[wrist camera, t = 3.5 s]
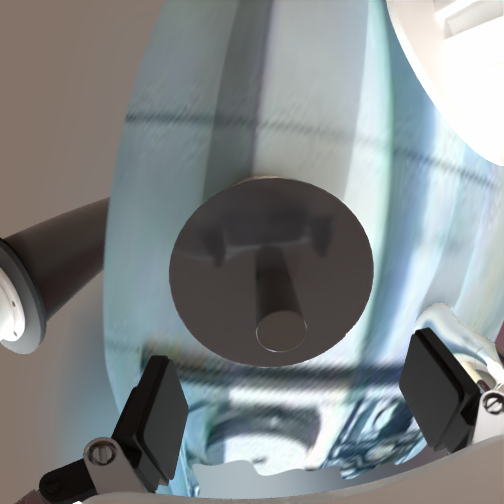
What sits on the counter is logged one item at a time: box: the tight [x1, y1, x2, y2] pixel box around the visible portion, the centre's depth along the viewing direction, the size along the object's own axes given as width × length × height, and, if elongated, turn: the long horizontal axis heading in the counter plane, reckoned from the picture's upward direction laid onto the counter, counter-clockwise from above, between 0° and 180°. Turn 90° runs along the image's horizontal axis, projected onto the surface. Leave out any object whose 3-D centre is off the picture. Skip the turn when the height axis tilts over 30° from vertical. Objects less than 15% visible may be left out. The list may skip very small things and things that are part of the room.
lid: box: [169, 177, 374, 367], centre depth 16 cm, size 13×13×6 cm
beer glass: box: [413, 302, 504, 395], centre depth 22 cm, size 7×7×15 cm
